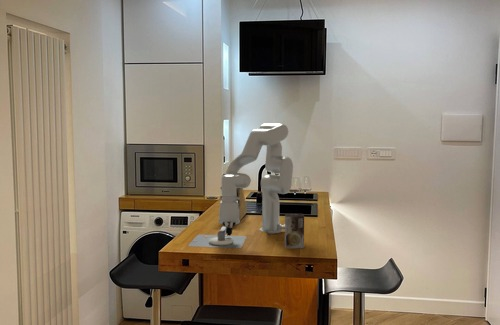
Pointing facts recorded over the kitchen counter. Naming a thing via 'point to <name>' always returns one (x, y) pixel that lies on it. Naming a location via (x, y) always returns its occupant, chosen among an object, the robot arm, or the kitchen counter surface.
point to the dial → (221, 238)
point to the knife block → (240, 202)
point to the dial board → (204, 242)
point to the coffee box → (294, 230)
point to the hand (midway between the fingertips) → (229, 234)
